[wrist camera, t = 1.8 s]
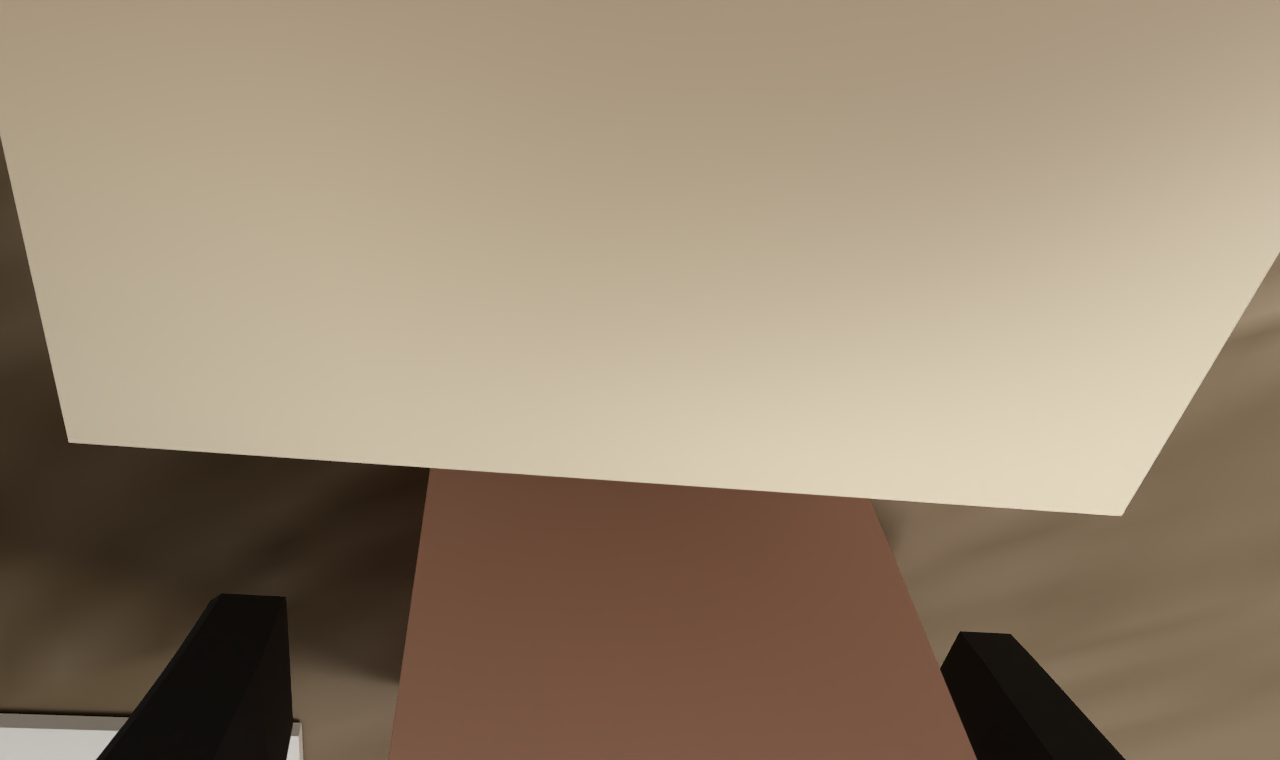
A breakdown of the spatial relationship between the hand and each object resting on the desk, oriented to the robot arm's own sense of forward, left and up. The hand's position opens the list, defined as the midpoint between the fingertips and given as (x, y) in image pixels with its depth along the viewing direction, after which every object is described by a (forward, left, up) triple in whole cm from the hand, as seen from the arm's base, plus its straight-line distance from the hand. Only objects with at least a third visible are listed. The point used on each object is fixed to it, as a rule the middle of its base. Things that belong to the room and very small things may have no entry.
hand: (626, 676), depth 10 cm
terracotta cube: (0, 0, -2) cm, 2 cm away
